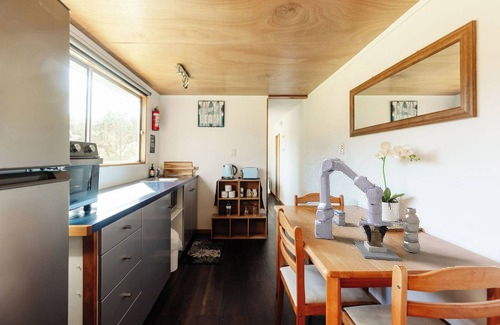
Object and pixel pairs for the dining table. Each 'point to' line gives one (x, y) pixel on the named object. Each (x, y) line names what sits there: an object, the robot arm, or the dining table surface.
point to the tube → (370, 227)
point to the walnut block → (375, 239)
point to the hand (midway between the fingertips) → (374, 241)
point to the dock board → (376, 251)
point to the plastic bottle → (411, 231)
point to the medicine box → (339, 217)
